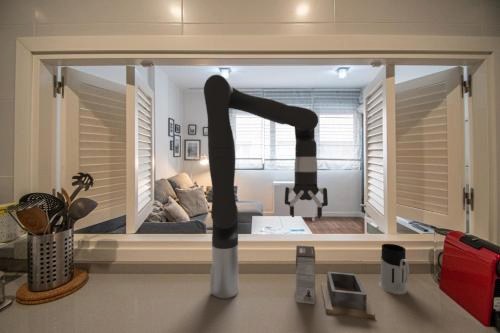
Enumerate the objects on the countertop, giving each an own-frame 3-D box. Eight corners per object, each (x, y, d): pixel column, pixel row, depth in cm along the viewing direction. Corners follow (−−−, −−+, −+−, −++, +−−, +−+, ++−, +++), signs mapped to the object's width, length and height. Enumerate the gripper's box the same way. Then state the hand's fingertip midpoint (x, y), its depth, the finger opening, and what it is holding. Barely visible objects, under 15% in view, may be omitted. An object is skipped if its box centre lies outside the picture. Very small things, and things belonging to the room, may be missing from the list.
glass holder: (398, 281, 91) (399, 243, 91) (421, 304, 77) (422, 259, 77) (375, 280, 92) (375, 242, 92) (393, 303, 78) (394, 258, 78)
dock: (325, 312, 73) (326, 293, 73) (321, 285, 89) (321, 269, 89) (374, 318, 70) (375, 298, 70) (361, 289, 86) (361, 272, 86)
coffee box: (296, 287, 88) (296, 244, 87) (313, 289, 86) (314, 246, 86) (295, 302, 79) (295, 254, 78) (315, 304, 77) (316, 256, 77)
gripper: (284, 170, 78) (284, 219, 79) (329, 171, 76) (328, 221, 76) (285, 169, 86) (285, 214, 86) (326, 169, 83) (326, 215, 84)
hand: (305, 217), depth 81 cm, fingers open, 8 cm apart
